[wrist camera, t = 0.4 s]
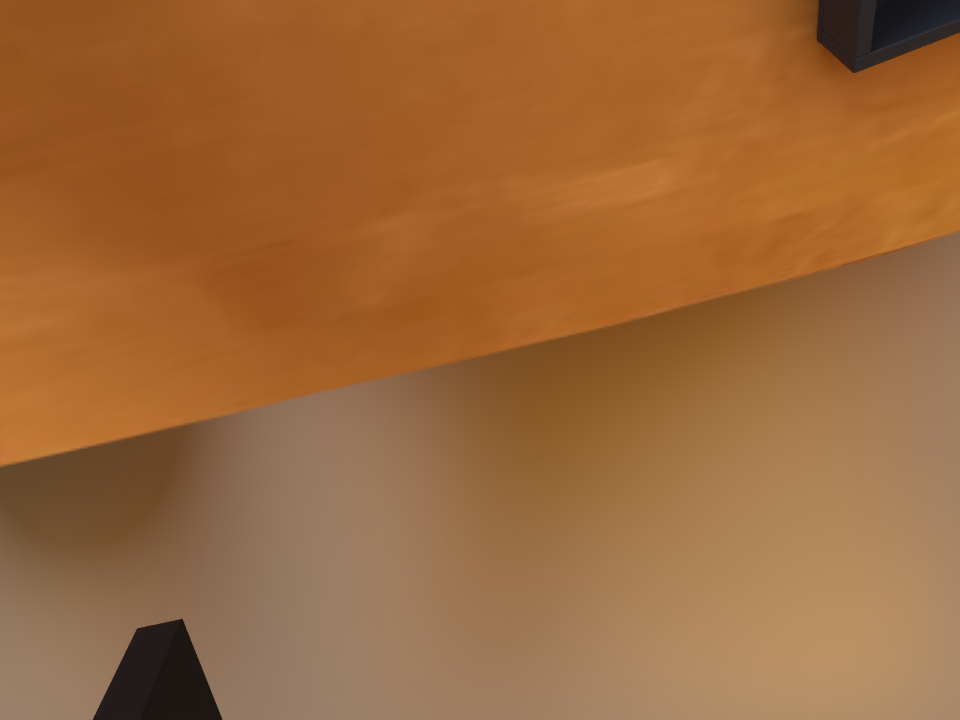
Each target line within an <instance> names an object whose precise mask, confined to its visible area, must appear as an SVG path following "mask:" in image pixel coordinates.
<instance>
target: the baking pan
mask: <svg viewBox="0 0 960 720" xmlns="http://www.w3.org/2000/svg"><path fill="white" fill-rule="evenodd" d="M959 32H960V0H819V15H818V31H817V41H818V42H819V43H821V44H822V45H823V46H824V47H826V48H827V49H828V50H829V51H830V52H831V53H832V54H833V55H834V56H835V57H836V58H838V59H839V60H840V61H841V62H842V63H843V64H844V65H845V66H846V67H847V68H848V69H849V70H851V71H852V72H853V73H856V72H859V71H861V70H864V69H866V68H869V67H871V66H874V65H877V64H879V63H882V62H884V61H887V60H890V59H892V58H895V57H897V56H900V55H902V54H905V53H908V52H910V51H913V50H915V49H918V48H920V47H923V46H926V45H928V44H931V43H933V42H936V41H939V40H941V39H944V38H946V37H949V36H951V35H954V34H957V33H959Z"/></svg>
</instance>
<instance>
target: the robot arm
mask: <svg viewBox="0 0 960 720" xmlns="http://www.w3.org/2000/svg"><path fill="white" fill-rule="evenodd" d="M93 720H222V718H221V715H220V712H219V710H218V708H217V705H216V702H215V700H214V697H213V695H212V692H211V690H210V687H209V685H208V682H207V680H206V677H205V675H204V672H203V669H202V667H201V664H200V662H199V659H198V657H197V654H196V652H195V649H194V647H193V644H192V642H191V640H190V637H189V634H188V632H187V629H186V627H185V624H184V622H183V619H180V620H175V621H170V622H165V623H161V624H157V625H151V626H147V627H142V628H137V630H136V632H135V634H134V636H133V638H132V640H131V643H130V645H129V646H128V648H127V650H126V652H125V655H124V657H123V659H122V661H121V663H120V665H119V667H118V669H117V671H116V673H115V675H114V677H113V679H112V681H111V683H110V685H109V687H108V690H107V691H106V693H105V695H104V698H103V700H102V702H101V704H100V706H99V708H98V710H97V712H96V714H95V716H94V718H93Z"/></svg>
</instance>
